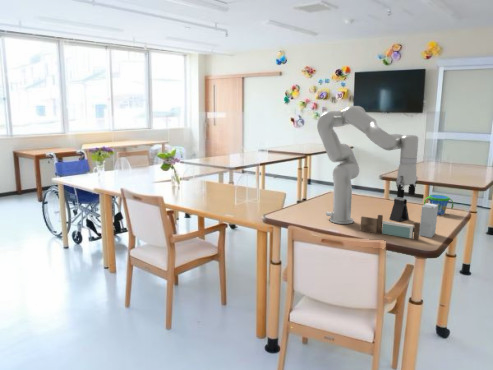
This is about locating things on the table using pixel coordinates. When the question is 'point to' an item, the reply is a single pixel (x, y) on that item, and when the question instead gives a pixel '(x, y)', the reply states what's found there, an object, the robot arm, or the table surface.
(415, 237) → the gate posts
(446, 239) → the table surface
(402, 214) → the door stopper
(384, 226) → the gate
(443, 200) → the snack cup
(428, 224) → the skincare box
